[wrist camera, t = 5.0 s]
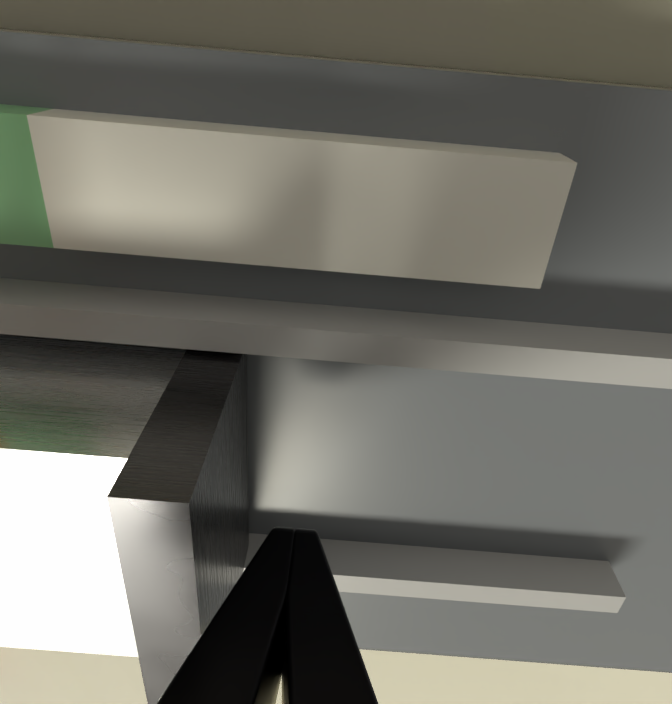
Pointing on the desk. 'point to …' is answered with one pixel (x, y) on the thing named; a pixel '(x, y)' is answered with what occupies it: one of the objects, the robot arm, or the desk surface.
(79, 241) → the board
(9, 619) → the grey block
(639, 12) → the desk surface
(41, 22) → the desk surface
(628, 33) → the desk surface
